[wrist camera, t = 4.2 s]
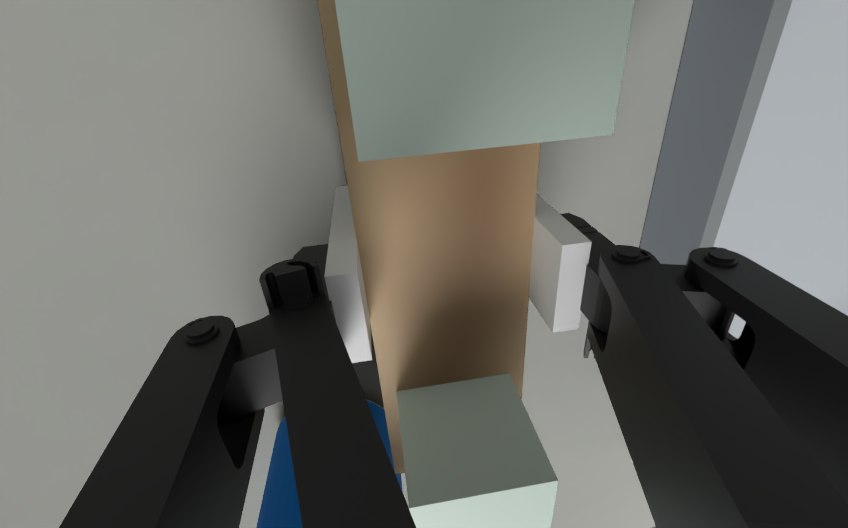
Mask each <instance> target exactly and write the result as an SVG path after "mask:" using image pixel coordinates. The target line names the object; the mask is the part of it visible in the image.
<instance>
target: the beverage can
mask: <svg viewBox="0 0 848 528" xmlns="http://www.w3.org/2000/svg"><path fill="white" fill-rule="evenodd" d="M366 400H367V399H366ZM367 403H368V406H369V408H370V411H371V413H372V416H373V418H374V421H375V424H376V426H377V429H378V431H379V434H380V436H381V439H382V441H383V444H384V447H385V449H386V452H387V454H388V457H389V459H390V462H391V464H392V467H393V470H394V464H393V458H392V452H391V446H390V440H389V434H388V428H387V422H386V416H385V409H384V408H383V407H381V406H380V405H378V404H376V403H374V402H372V401H369V400H367ZM394 472H395V470H394ZM395 475H396V477H397V480H398V482H399V485H400V487H401V490H402V482H401V474H395ZM257 528H303V527H302V521H301V514H300V508H299V501H298V495H297V488H296V482H295V475H294V469H293V463H292V456H291V450H290V443H289V437H288V430H287V424H286V418H284V419H283V421H282V422H281V424H280V426H279V428H278V431H277V434H276V439H275V444H274V448H273V453H272V458H271V462H270V467H269V472H268V476H267V481H266V486H265V490H264V495H263V500H262V504H261V509H260V514H259V518H258V523H257Z"/></svg>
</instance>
